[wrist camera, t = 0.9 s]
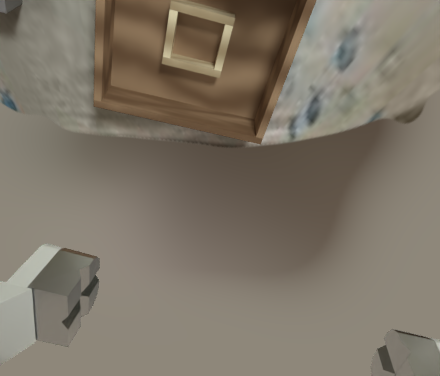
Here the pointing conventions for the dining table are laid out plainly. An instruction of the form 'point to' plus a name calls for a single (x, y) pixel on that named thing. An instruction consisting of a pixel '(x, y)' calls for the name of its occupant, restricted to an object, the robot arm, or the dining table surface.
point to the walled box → (197, 60)
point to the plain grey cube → (9, 5)
